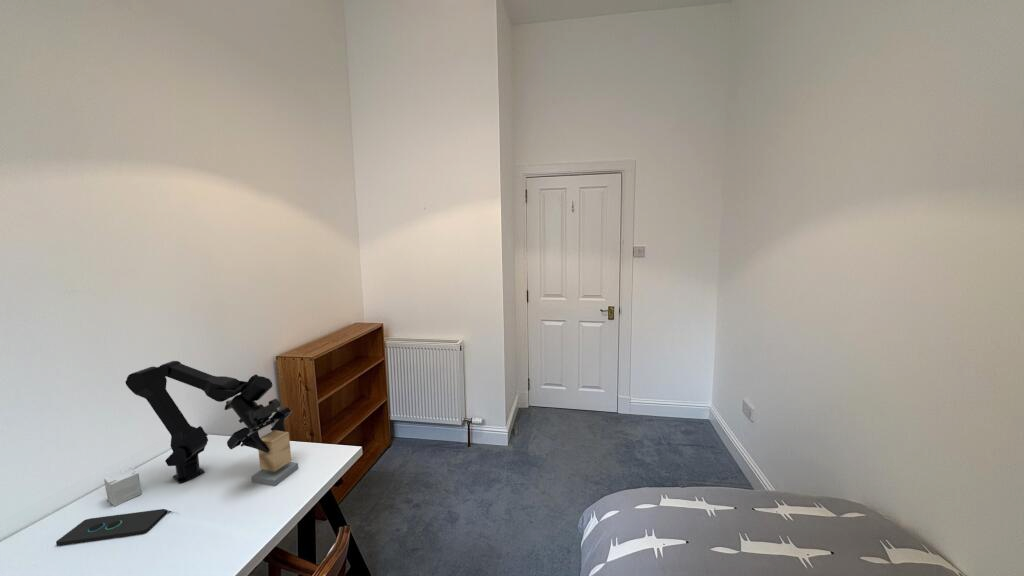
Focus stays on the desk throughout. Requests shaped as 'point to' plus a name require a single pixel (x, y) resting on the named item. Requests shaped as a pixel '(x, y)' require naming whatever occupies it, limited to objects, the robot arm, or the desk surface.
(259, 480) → the slate top slab
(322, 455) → the desk surface
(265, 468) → the honey oak block
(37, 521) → the desk surface
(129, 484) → the skincare box
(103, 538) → the smart home device
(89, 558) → the desk surface
